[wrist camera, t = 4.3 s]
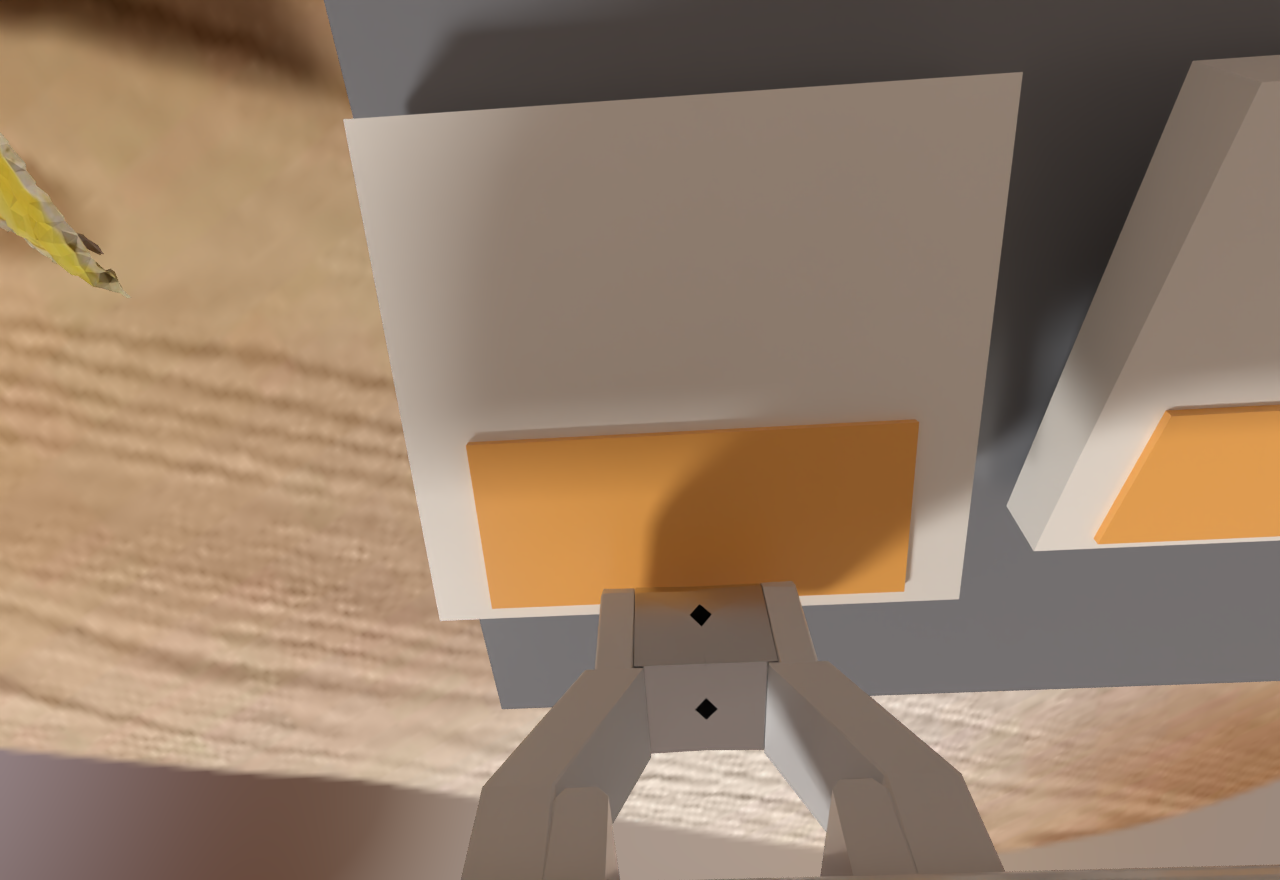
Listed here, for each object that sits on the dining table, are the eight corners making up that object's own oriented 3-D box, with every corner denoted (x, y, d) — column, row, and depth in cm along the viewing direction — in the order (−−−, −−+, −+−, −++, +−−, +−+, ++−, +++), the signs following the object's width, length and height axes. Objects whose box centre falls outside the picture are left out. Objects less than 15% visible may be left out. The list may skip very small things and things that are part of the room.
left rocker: (378, 128, 10) (337, 117, 9) (980, 87, 10) (1029, 69, 8) (458, 583, 13) (437, 626, 11) (930, 563, 12) (962, 603, 11)
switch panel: (318, -340, 10) (192, -495, 7) (1796, -480, 9) (2297, -716, 6) (520, 624, 20) (500, 715, 17) (1238, 595, 19) (1338, 685, 16)
